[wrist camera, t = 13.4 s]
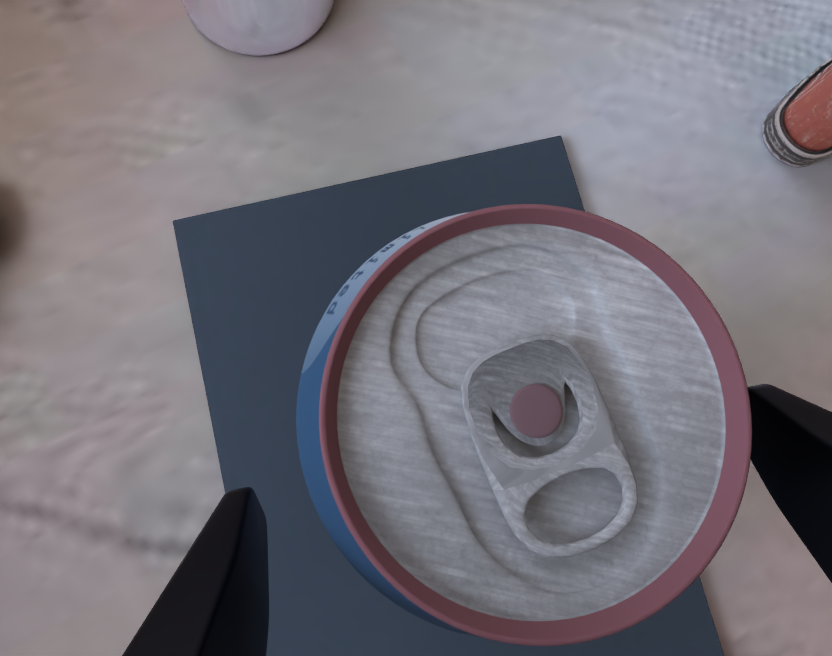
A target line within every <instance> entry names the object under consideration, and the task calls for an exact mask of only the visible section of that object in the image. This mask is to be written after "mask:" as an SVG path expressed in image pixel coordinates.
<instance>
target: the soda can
mask: <svg viewBox="0 0 832 656" xmlns="http://www.w3.org/2000/svg"><path fill="white" fill-rule="evenodd" d="M296 429H297V443H298V449H299V456H300V462H301V466H302V470H303V474H304V478H305V481H306V484H307V487H308V491H309V494H310V496H311V499H312V501H313V503H314V506H315V508H316V511H317V513H318V515H319V517H320V519H321V521H322V523H323V525H324V527H325V528H326V530H327V532H328V533H329V535H330V537H331V538H332V540H333V541H334V543H335V544H336V546H337V547H338V548H339V550H340V551H341V553H342V554H343V555H344V557H345V558H346V559H347V560H348V561H349V563H350V564H351V565H352V566H353V567H354V569H355V570H356V571H357V572H358V573H359V574H360V575H361V576H362V577H363V578H364V579H365V580H366V581H367V582H368V583H369V584H371V585H372V586H373V587H374V588H375V589H376V590H378V591H379V592H380V593H381V594H382V595H384V596H385V597H387V598H388V599H389V600H391V601H392V602H393V603H395V604H396V605H398V606H399V607H401V608H403V609H404V610H406V611H408V612H409V613H411V614H413V615H415V616H417V617H419V618H421V619H423V620H425V621H427V622H429V623H432V624H434V625H437V626H439V627H442V628H445V629H448V630H451V631H454V632H458V633H461V634H466V635H470V636H475V637H480V638H486V639H490V640H494V641H499V642H504V643H509V644H517V645H524V646H562V645H570V644H577V643H583V642H587V641H592V640H596V639H600V638H603V637H606V636H609V635H612V634H615V633H618V632H620V631H623V630H625V629H627V628H630V627H632V626H634V625H636V624H638V623H640V622H642V621H644V620H646V619H647V618H649V617H650V616H652V615H654V614H655V613H657V612H658V611H660V610H662V609H663V608H664V607H665V606H667V605H668V604H669V603H671V602H672V601H673V600H675V599H676V598H677V597H678V596H679V595H680V594H682V593H683V592H684V591H685V590H686V589H687V588H688V587H689V586H690V585H691V584H692V583H693V582H694V581H695V580H696V579H697V578H698V577H699V575H700V574H701V573H702V572H703V571H704V569H705V568H706V567H707V565H708V564H709V563H710V562H711V560H712V559H713V557H714V556H715V554H716V553H717V551H718V550H719V548H720V547H721V545H722V543H723V541H724V540H725V538H726V536H727V534H728V532H729V530H730V528H731V526H732V524H733V521H734V519H735V517H736V515H737V512H738V509H739V506H740V503H741V501H742V497H743V494H744V490H745V486H746V482H747V477H748V472H749V466H750V458H751V448H752V420H751V408H750V400H749V394H748V389H747V384H746V379H745V375H744V372H743V368H742V365H741V362H740V359H739V356H738V353H737V350H736V348H735V345H734V343H733V341H732V339H731V336H730V334H729V332H728V330H727V328H726V326H725V324H724V323H723V321H722V319H721V317H720V315H719V314H718V312H717V311H716V309H715V307H714V306H713V304H712V303H711V301H710V300H709V299H708V297H707V296H706V295H705V293H704V292H703V290H702V289H701V288H700V287H699V286H698V285H697V283H696V282H695V281H694V280H693V279H692V277H691V276H690V275H689V274H688V273H687V272H686V271H685V270H684V269H683V268H682V267H681V266H680V265H679V264H678V263H676V262H675V261H674V260H673V259H672V258H671V257H670V256H669V255H667V254H666V253H665V252H663V251H662V250H661V249H659V248H658V247H657V246H656V245H654V244H653V243H651V242H650V241H648V240H647V239H645V238H644V237H642V236H640V235H639V234H637V233H635V232H633V231H631V230H630V229H628V228H626V227H624V226H622V225H619V224H617V223H615V222H613V221H610V220H608V219H605V218H603V217H600V216H597V215H594V214H591V213H587V212H584V211H580V210H576V209H571V208H567V207H560V206H553V205H542V204H513V205H502V206H496V207H489V208H484V209H480V210H476V211H472V212H467V213H461V214H457V215H453V216H449V217H445V218H442V219H439V220H436V221H433V222H430V223H428V224H425V225H423V226H420V227H418V228H416V229H414V230H412V231H410V232H408V233H406V234H404V235H402V236H400V237H399V238H397V239H395V240H394V241H392V242H390V243H389V244H388V245H386V246H385V247H383V248H382V249H381V250H379V251H378V252H377V253H375V254H374V255H373V256H372V257H371V258H369V259H368V260H367V261H366V262H365V263H364V264H363V265H362V266H361V267H360V268H359V269H358V270H357V271H356V272H355V273H354V274H353V275H352V276H351V277H350V278H349V279H348V280H347V282H346V283H345V284H344V285H343V286H342V288H341V289H340V290H339V292H338V293H337V294H336V296H335V297H334V298H333V300H332V302H331V303H330V305H329V306H328V308H327V310H326V311H325V313H324V315H323V317H322V319H321V320H320V322H319V324H318V326H317V328H316V331H315V333H314V335H313V338H312V340H311V342H310V345H309V348H308V351H307V354H306V357H305V361H304V365H303V368H302V372H301V377H300V383H299V388H298V397H297V407H296Z"/></svg>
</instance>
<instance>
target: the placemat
mask: <svg viewBox="0 0 832 656" xmlns="http://www.w3.org/2000/svg"><path fill="white" fill-rule="evenodd" d="M513 204H542V205H553V206H560V207H567V208H571V209H576V210H580V211H584V208H583V204H582V201H581V198H580V195H579V192H578V188H577V185H576V182H575V179H574V176H573V172H572V169H571V166H570V163H569V160H568V157H567V153H566V150H565V147H564V144H563V141H562V137H561V136H556V137H552V138H547V139H543V140H538V141H534V142H529V143H525V144H520V145H515V146H511V147H506V148H502V149H497V150H493V151H488V152H484V153H479V154H475V155H470V156H465V157H461V158H456V159H452V160H447V161H443V162H438V163H434V164H429V165H425V166H420V167H415V168H411V169H406V170H402V171H397V172H393V173H388V174H384V175H379V176H375V177H370V178H365V179H361V180H356V181H352V182H347V183H343V184H338V185H334V186H329V187H325V188H320V189H315V190H311V191H306V192H302V193H297V194H293V195H288V196H284V197H279V198H275V199H270V200H265V201H261V202H256V203H252V204H247V205H243V206H238V207H234V208H229V209H225V210H220V211H215V212H211V213H206V214H202V215H197V216H193V217H188V218H184V219H179V220H174V221H173V225H174V230H175V235H176V240H177V245H178V251H179V256H180V261H181V266H182V271H183V276H184V282H185V287H186V292H187V297H188V302H189V307H190V313H191V318H192V323H193V328H194V333H195V338H196V344H197V349H198V354H199V359H200V364H201V369H202V375H203V380H204V385H205V390H206V395H207V400H208V406H209V411H210V416H211V421H212V426H213V431H214V437H215V442H216V447H217V452H218V457H219V462H220V468H221V473H222V478H223V483H224V488H225V493H227V492H228V491H230V490H233V489H238V488H243V487H251V488H252V489H253V490H254V492H255V494H256V496H257V498H258V500H259V502H260V505H261V507H262V509H263V511H264V514H265V517H266V521H267V540H268V575H269V629H268V641H267V653H266V656H724V654H723V650H722V647H721V644H720V641H719V638H718V634H717V631H716V628H715V625H714V622H713V618H712V615H711V612H710V609H709V606H708V603H707V599H706V596H705V593H704V590H703V587H702V583H701V580H700V577H698V578H697V579H696V580H695V581H694V582H693V583H692V584H691V585H690V586H689V587H688V588H687V589H686V590H685V591H684V592H683V593H682V594H680V595H679V596H678V597H677V598H676V599H675V600H673V601H672V602H671V603H669V604H668V605H667V606H665V607H664V608H663V609H662V610H660V611H658V612H657V613H655V614H654V615H652V616H650V617H649V618H647V619H646V620H644V621H642V622H640V623H638V624H636V625H634V626H632V627H630V628H627V629H625V630H623V631H620V632H618V633H615V634H612V635H609V636H606V637H603V638H600V639H596V640H592V641H587V642H583V643H577V644H570V645H562V646H524V645H517V644H509V643H504V642H499V641H494V640H490V639H486V638H480V637H475V636H470V635H466V634H461V633H458V632H454V631H451V630H448V629H445V628H442V627H439V626H437V625H434V624H432V623H429V622H427V621H425V620H423V619H421V618H419V617H417V616H415V615H413V614H411V613H409V612H408V611H406V610H404V609H403V608H401V607H399V606H398V605H396V604H395V603H393V602H392V601H391V600H389V599H388V598H387V597H385V596H384V595H382V594H381V593H380V592H379V591H378V590H376V589H375V588H374V587H373V586H372V585H371V584H369V583H368V582H367V581H366V580H365V579H364V578H363V577H362V576H361V575H360V574H359V573H358V572H357V571H356V570H355V569H354V567H353V566H352V565H351V564H350V563H349V561H348V560H347V559H346V558H345V557H344V555H343V554H342V553H341V551H340V550H339V548H338V547H337V546H336V544H335V543H334V541H333V540H332V538H331V537H330V535H329V533H328V532H327V530H326V528H325V527H324V525H323V523H322V521H321V519H320V517H319V515H318V513H317V511H316V508H315V506H314V503H313V501H312V499H311V496H310V494H309V491H308V487H307V484H306V481H305V478H304V474H303V470H302V466H301V462H300V456H299V449H298V443H297V429H296V407H297V397H298V388H299V383H300V377H301V372H302V368H303V365H304V361H305V357H306V354H307V351H308V348H309V345H310V342H311V340H312V338H313V335H314V333H315V331H316V328H317V326H318V324H319V322H320V320H321V319H322V317H323V315H324V313H325V311H326V310H327V308H328V306H329V305H330V303H331V302H332V300H333V298H334V297H335V296H336V294H337V293H338V292H339V290H340V289H341V288H342V286H343V285H344V284H345V283H346V282H347V280H348V279H349V278H350V277H351V276H352V275H353V274H354V273H355V272H356V271H357V270H358V269H359V268H360V267H361V266H362V265H363V264H364V263H365V262H366V261H367V260H368V259H369V258H371V257H372V256H373V255H374V254H375V253H377V252H378V251H379V250H381V249H382V248H383V247H385V246H386V245H388V244H389V243H390V242H392V241H394V240H395V239H397V238H399V237H400V236H402V235H404V234H406V233H408V232H410V231H412V230H414V229H416V228H418V227H420V226H423V225H425V224H428V223H430V222H433V221H436V220H439V219H442V218H445V217H449V216H453V215H457V214H461V213H467V212H472V211H476V210H480V209H484V208H489V207H496V206H502V205H513ZM584 212H585V211H584Z"/></svg>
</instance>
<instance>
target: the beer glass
mask: <svg viewBox="0 0 832 656" xmlns="http://www.w3.org/2000/svg"><path fill="white" fill-rule="evenodd" d="M182 1H183V4H184V7H185V9H186V11H187V13H188V15H189V17H190V19H191V20H192V22H193V23H194V25H195V26H196V27H197V28H198V29H199V30H200V32H201V33H202V34H203V35H205V36H206V37H207V38H208V39H209V40H211V41H212V42H214V43H215V44H217V45H219V46H220V47H222V48H225V49H227V50H230V51H233V52H236V53H240V54H245V55H255V56H262V55H272V54H277V53H281V52H284V51H287V50H290V49H292V48H295V47H297V46H299V45H300V44H302V43H304V42H305V41H307V40H308V39H309V38H311V37H312V36H313V35H314V34H315V33H316V32H317V31H318V30H319V29H320V28H321V27H322V25H323V24H324V22H325V21H326V19H327V18H328V16H329V14H330V11H331V9H332V6H333V2H334V0H182Z"/></svg>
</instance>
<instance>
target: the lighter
mask: <svg viewBox="0 0 832 656" xmlns="http://www.w3.org/2000/svg"><path fill="white" fill-rule="evenodd" d="M762 134H763V138H764V142H765V144H766V146H767V147H768V149H769V150H770V152H771V153H772V154H773V155H774V156H775V157H776V158H777V159H778V160H780V161H782V162H784V163H786V164H788V165H790V166H796V167H803V166H808V165H811V164H813V163H815V162H817V161H820V160H822V159H824V158H826V157H829V156H831V155H832V57H831V58H829V59H828V60H827V61H826V62H825V63H823V64H822V65H821V66H820V67H818V68H817V69H816V70H815V71H814V72H812V73H811V74H810V75H809V76H807V77H806V78H805V79H804V80H803V81H801V82H800V83H799V84H798V85H797V86H795V87H794V88H793V89H792V90H790V91H789V92H788V93H787V95H786V96H785V97H784V98H783V99H782V100H781V101H780V102H779V103H778V104H777V105H776V106H775V108H774V109H773V110H772V111H771V112H770V113H769V114H768V115H767V117H766V118H765V120H764V122H763V127H762Z"/></svg>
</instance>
